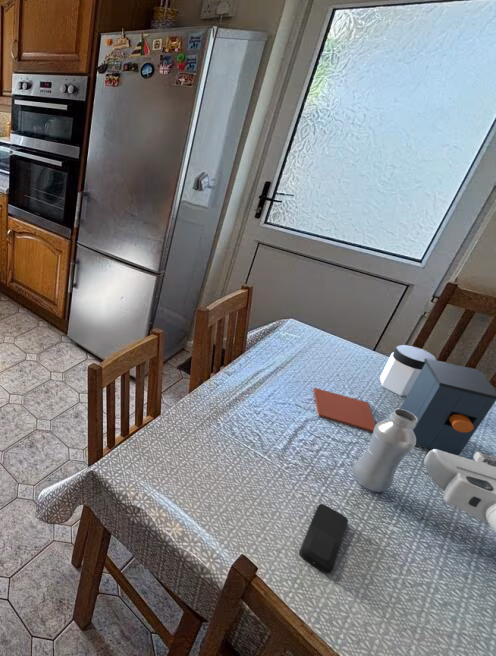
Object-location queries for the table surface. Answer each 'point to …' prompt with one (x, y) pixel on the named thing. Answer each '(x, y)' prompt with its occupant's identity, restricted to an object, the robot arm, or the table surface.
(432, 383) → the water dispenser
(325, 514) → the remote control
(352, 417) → the mat
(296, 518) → the table surface
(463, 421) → the tap button
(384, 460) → the plastic bottle
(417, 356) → the jar
